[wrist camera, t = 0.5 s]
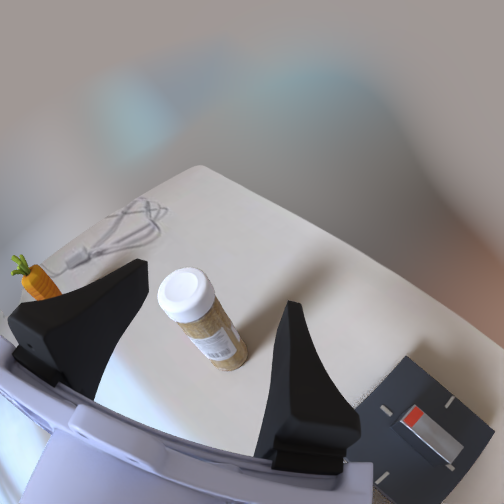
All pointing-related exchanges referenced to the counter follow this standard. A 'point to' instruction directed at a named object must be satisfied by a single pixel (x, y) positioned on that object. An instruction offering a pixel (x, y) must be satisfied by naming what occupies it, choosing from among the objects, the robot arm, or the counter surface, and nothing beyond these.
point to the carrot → (35, 280)
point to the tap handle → (427, 437)
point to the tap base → (404, 455)
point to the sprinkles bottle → (202, 317)
